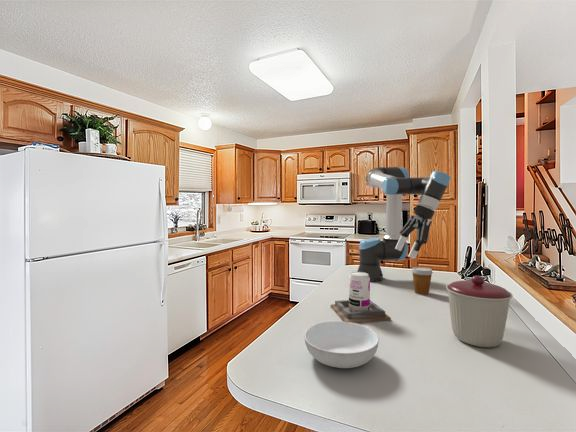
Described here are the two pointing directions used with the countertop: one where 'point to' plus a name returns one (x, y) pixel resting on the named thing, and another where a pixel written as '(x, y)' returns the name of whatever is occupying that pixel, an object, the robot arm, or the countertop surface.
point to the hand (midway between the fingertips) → (404, 253)
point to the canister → (478, 311)
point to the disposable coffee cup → (421, 280)
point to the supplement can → (359, 292)
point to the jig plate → (359, 313)
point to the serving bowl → (341, 343)
